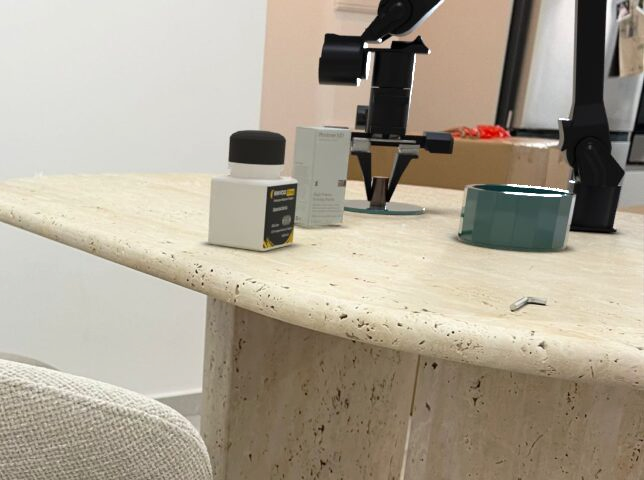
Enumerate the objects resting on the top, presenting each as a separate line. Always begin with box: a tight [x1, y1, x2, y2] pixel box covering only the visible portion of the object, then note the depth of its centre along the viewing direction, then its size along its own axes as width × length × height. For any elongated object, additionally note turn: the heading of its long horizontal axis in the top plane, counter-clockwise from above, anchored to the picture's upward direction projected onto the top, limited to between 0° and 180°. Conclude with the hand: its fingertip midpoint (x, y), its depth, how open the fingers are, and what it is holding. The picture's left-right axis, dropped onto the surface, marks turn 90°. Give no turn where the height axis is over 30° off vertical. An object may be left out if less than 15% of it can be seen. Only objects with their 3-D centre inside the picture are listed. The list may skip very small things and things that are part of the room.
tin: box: [457, 183, 576, 253], centre depth 115 cm, size 13×13×6 cm
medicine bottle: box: [207, 129, 298, 252], centre depth 103 cm, size 7×7×12 cm
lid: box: [344, 175, 426, 216], centre depth 139 cm, size 14×14×5 cm
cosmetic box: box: [291, 125, 352, 229], centre depth 121 cm, size 6×4×12 cm
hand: (378, 201), depth 139 cm, fingers closed on lid, 2 cm apart
